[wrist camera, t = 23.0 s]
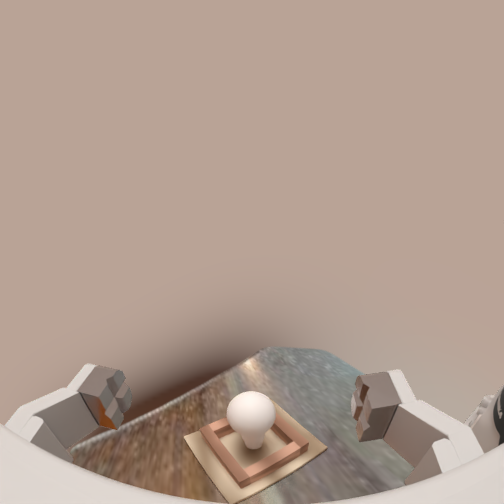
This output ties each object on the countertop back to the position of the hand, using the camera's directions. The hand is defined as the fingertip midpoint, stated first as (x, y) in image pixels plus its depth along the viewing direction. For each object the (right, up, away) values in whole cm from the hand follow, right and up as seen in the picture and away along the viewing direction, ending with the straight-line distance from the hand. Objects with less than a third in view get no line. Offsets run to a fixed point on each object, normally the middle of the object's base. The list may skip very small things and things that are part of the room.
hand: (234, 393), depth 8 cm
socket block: (+1, -24, +25) cm, 34 cm away
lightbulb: (+1, -23, +25) cm, 34 cm away
